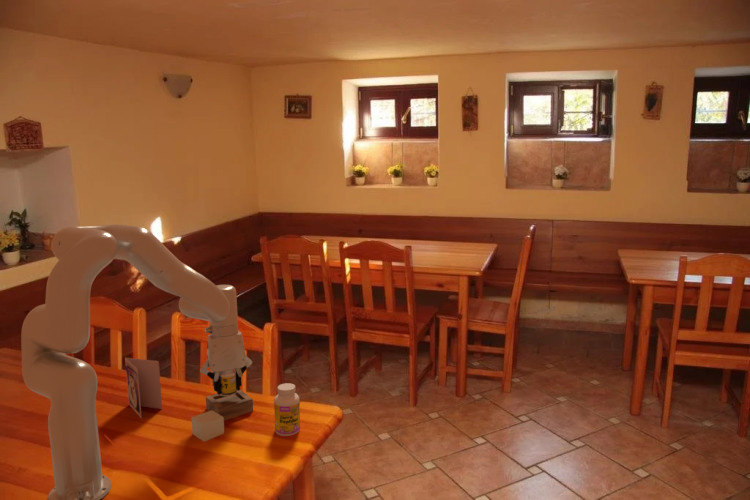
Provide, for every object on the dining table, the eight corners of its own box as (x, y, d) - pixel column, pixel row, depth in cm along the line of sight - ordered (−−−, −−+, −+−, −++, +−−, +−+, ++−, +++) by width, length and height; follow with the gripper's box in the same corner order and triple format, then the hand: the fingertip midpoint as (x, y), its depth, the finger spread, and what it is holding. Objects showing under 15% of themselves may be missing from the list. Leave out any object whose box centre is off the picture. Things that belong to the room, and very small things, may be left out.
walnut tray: (253, 415, 169) (252, 399, 169) (219, 425, 164) (218, 408, 163) (239, 403, 177) (238, 388, 177) (206, 412, 172) (205, 396, 171)
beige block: (224, 434, 158) (223, 417, 157) (203, 442, 154) (202, 424, 153) (212, 427, 162) (211, 410, 161) (192, 434, 158) (191, 417, 157)
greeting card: (126, 406, 175) (121, 358, 172) (151, 399, 180) (147, 352, 177) (138, 420, 166) (134, 369, 164) (164, 412, 171) (161, 363, 168)
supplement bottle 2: (276, 439, 155) (274, 393, 152) (274, 428, 161) (272, 383, 159) (302, 436, 156) (300, 390, 154) (298, 424, 163) (297, 380, 160)
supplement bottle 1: (215, 394, 168) (214, 366, 167) (227, 388, 172) (226, 361, 171) (228, 398, 166) (226, 369, 165) (240, 392, 170) (238, 364, 169)
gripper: (195, 338, 159) (200, 402, 162) (258, 328, 166) (261, 389, 170) (190, 330, 165) (194, 392, 168) (250, 321, 173) (253, 380, 176)
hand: (228, 390), depth 169 cm, fingers closed on supplement bottle 1, 4 cm apart
